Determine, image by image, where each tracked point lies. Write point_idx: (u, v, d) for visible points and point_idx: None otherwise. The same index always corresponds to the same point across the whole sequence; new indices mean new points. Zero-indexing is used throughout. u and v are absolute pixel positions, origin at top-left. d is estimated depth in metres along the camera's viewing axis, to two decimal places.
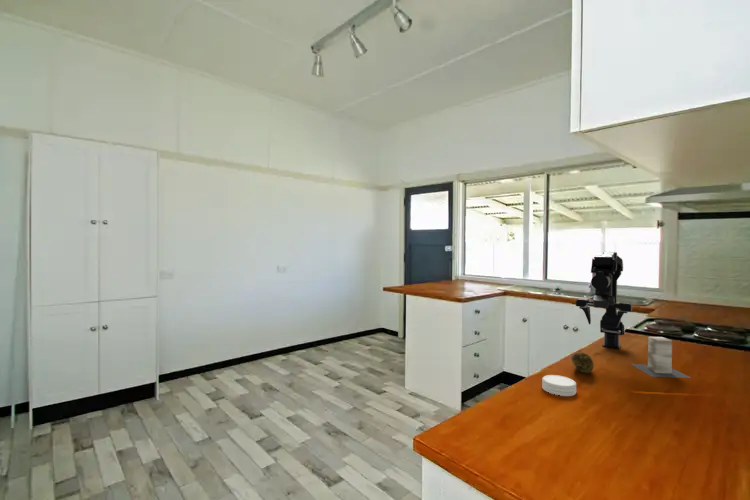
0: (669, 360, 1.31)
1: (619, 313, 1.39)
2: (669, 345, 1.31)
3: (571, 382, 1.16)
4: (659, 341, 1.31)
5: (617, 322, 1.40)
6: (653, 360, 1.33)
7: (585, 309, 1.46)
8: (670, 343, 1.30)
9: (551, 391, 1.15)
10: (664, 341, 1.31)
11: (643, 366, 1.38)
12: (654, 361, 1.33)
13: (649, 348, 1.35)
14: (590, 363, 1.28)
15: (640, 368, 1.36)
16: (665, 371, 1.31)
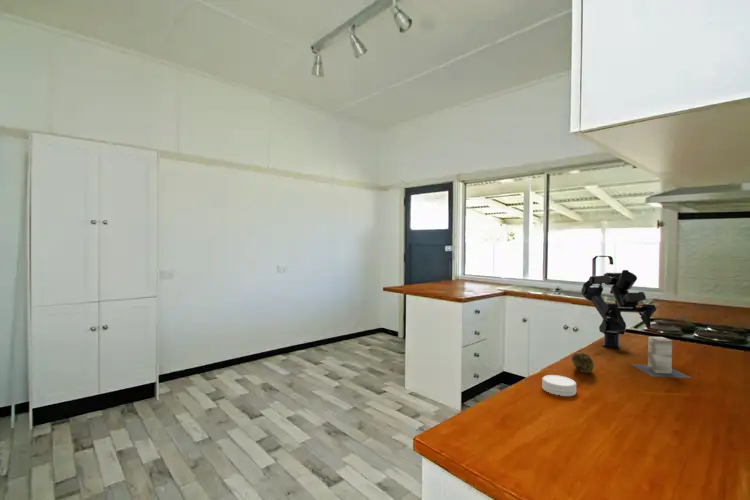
0: (669, 360, 1.31)
1: (648, 311, 1.48)
2: (669, 345, 1.31)
3: (571, 382, 1.16)
4: (659, 341, 1.31)
5: (648, 321, 1.47)
6: (653, 360, 1.33)
7: (618, 310, 1.50)
8: (670, 343, 1.30)
9: (551, 391, 1.15)
10: (664, 341, 1.31)
11: (643, 366, 1.38)
12: (654, 361, 1.33)
13: (649, 348, 1.35)
14: (590, 363, 1.28)
15: (640, 368, 1.36)
16: (665, 371, 1.31)
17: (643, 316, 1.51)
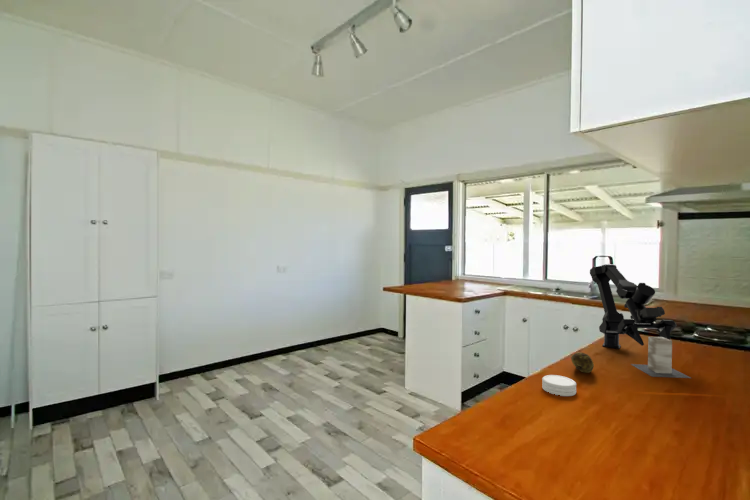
0: (669, 360, 1.31)
1: (667, 328, 1.37)
2: (669, 345, 1.31)
3: (571, 382, 1.16)
4: (659, 341, 1.31)
5: None
6: (653, 360, 1.33)
7: (635, 327, 1.39)
8: (670, 343, 1.30)
9: (551, 391, 1.15)
10: (664, 341, 1.31)
11: (643, 366, 1.38)
12: (654, 361, 1.33)
13: (649, 348, 1.35)
14: (590, 363, 1.28)
15: (640, 368, 1.36)
16: (665, 371, 1.31)
17: (662, 333, 1.39)
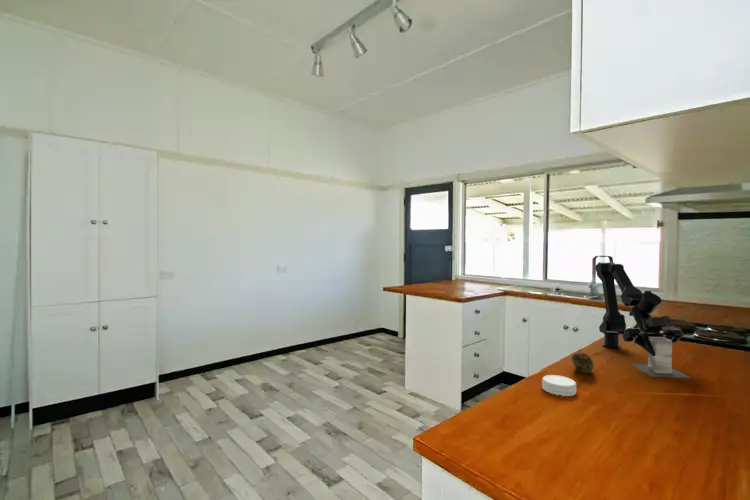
0: (669, 360, 1.31)
1: (668, 338, 1.34)
2: (669, 345, 1.30)
3: (571, 382, 1.16)
4: (659, 341, 1.31)
5: None
6: (653, 360, 1.33)
7: (646, 336, 1.35)
8: (670, 343, 1.30)
9: (551, 391, 1.15)
10: (664, 341, 1.31)
11: (643, 366, 1.38)
12: (654, 361, 1.33)
13: None
14: (590, 363, 1.28)
15: (640, 368, 1.36)
16: (665, 371, 1.31)
17: None
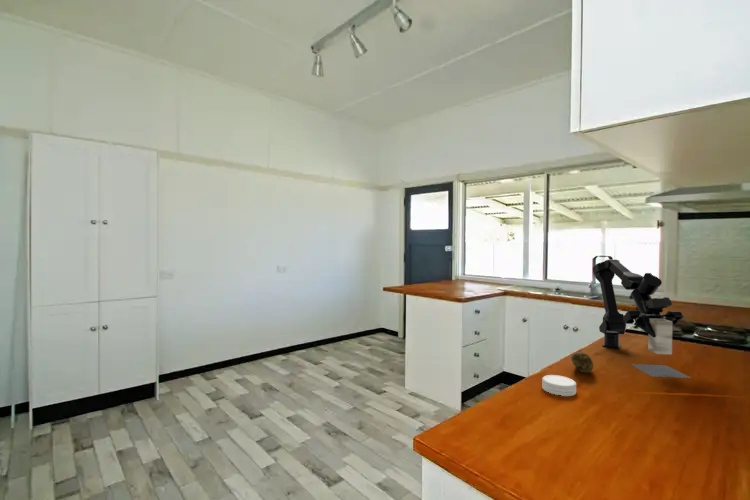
0: (669, 341, 1.30)
1: (668, 319, 1.34)
2: (670, 326, 1.30)
3: (571, 382, 1.16)
4: (659, 322, 1.31)
5: None
6: (653, 341, 1.33)
7: (646, 318, 1.35)
8: (670, 324, 1.30)
9: (551, 391, 1.15)
10: (664, 322, 1.30)
11: (643, 366, 1.38)
12: (654, 343, 1.32)
13: None
14: (590, 363, 1.28)
15: (640, 368, 1.36)
16: (665, 352, 1.31)
17: None
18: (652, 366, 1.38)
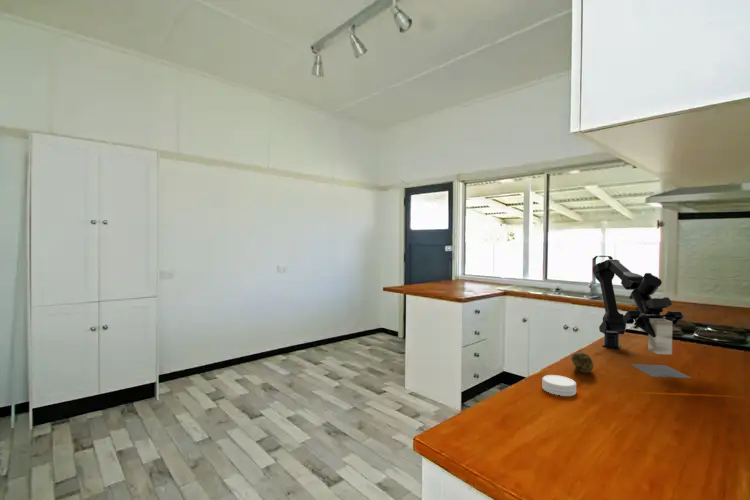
0: (669, 341, 1.30)
1: (668, 319, 1.34)
2: (670, 326, 1.30)
3: (571, 382, 1.16)
4: (659, 322, 1.31)
5: None
6: (653, 341, 1.33)
7: (646, 318, 1.35)
8: (670, 324, 1.30)
9: (551, 391, 1.15)
10: (664, 322, 1.30)
11: (643, 366, 1.38)
12: (654, 343, 1.32)
13: None
14: (590, 363, 1.28)
15: (640, 368, 1.36)
16: (665, 352, 1.31)
17: None
18: (652, 366, 1.38)
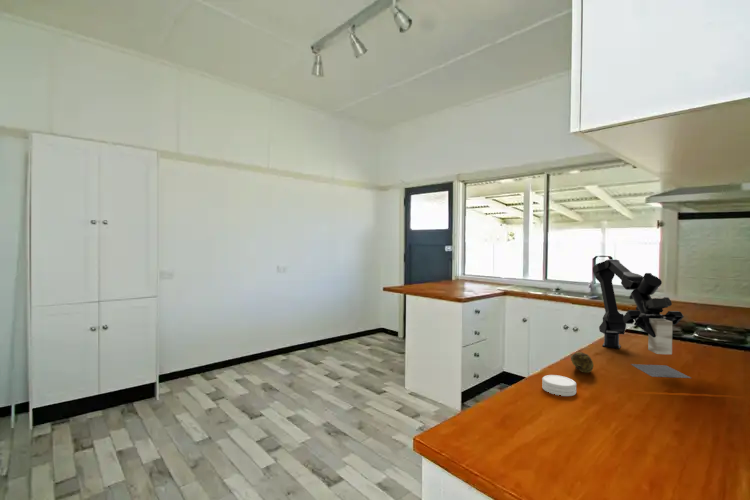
0: (669, 341, 1.30)
1: (668, 319, 1.34)
2: (670, 326, 1.30)
3: (571, 382, 1.16)
4: (659, 322, 1.31)
5: None
6: (653, 341, 1.33)
7: (646, 318, 1.35)
8: (670, 324, 1.30)
9: (551, 391, 1.15)
10: (664, 322, 1.30)
11: (643, 366, 1.38)
12: (654, 343, 1.32)
13: None
14: (589, 363, 1.28)
15: (640, 368, 1.36)
16: (665, 352, 1.31)
17: None
18: (652, 366, 1.38)
